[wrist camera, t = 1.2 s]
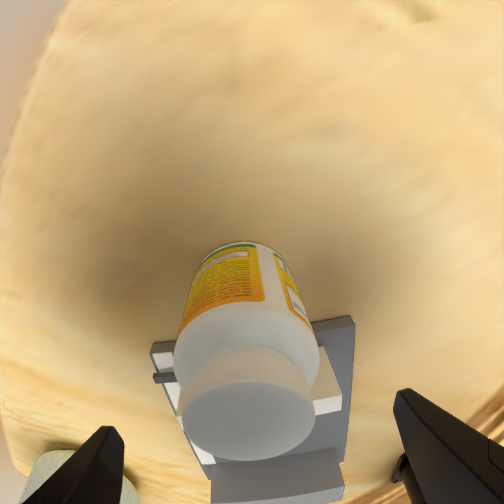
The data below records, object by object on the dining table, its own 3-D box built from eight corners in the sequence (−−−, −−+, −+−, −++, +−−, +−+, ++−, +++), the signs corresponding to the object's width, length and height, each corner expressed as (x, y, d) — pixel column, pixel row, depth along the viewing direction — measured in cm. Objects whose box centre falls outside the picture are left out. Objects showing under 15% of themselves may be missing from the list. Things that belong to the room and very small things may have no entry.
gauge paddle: (323, 361, 18) (341, 410, 14) (158, 382, 18) (146, 431, 14) (323, 345, 18) (342, 394, 14) (152, 367, 18) (138, 417, 14)
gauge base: (340, 453, 24) (353, 496, 19) (208, 471, 24) (207, 516, 19) (350, 315, 19) (380, 368, 14) (152, 343, 19) (134, 401, 14)
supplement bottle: (309, 261, 17) (375, 387, 8) (266, 338, 19) (287, 479, 10) (214, 222, 16) (191, 336, 7) (179, 307, 18) (144, 449, 9)
